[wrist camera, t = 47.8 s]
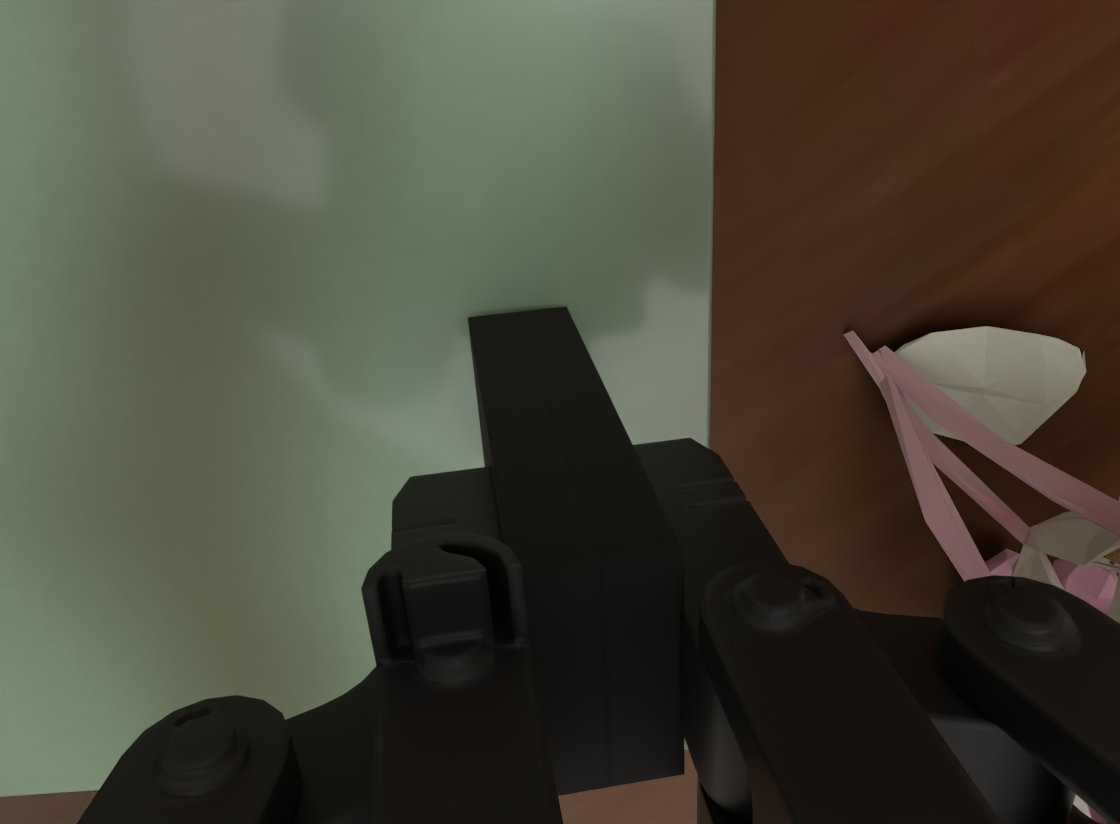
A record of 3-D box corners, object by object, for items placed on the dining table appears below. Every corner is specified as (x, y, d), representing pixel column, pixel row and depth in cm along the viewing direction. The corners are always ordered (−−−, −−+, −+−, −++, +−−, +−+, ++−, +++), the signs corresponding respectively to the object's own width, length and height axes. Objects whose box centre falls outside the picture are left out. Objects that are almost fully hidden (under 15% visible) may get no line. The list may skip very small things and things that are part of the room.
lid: (709, -263, 11) (721, -278, 11) (698, 719, 19) (705, 749, 18) (-531, -178, 11) (-602, -187, 11) (-47, 771, 19) (-69, 802, 18)
